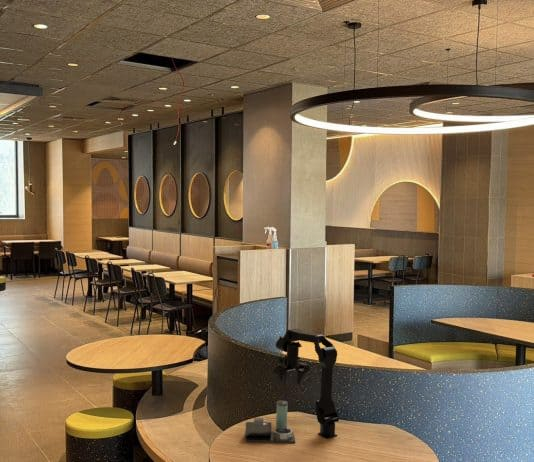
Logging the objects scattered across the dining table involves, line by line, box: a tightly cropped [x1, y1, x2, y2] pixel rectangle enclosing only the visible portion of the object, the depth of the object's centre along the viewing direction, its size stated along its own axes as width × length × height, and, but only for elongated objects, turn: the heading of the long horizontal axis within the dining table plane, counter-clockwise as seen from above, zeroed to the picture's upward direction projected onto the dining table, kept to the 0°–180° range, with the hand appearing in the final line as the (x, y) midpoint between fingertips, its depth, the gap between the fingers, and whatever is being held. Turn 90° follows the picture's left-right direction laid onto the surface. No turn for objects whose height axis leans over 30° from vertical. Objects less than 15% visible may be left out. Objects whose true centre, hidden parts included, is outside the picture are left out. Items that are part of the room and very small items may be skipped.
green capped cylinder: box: [275, 399, 289, 428], centre depth 271 cm, size 5×5×13 cm
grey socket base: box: [244, 417, 296, 444], centre depth 262 cm, size 22×10×8 cm, turn 93°
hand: (290, 385), depth 289 cm, fingers open, 9 cm apart
